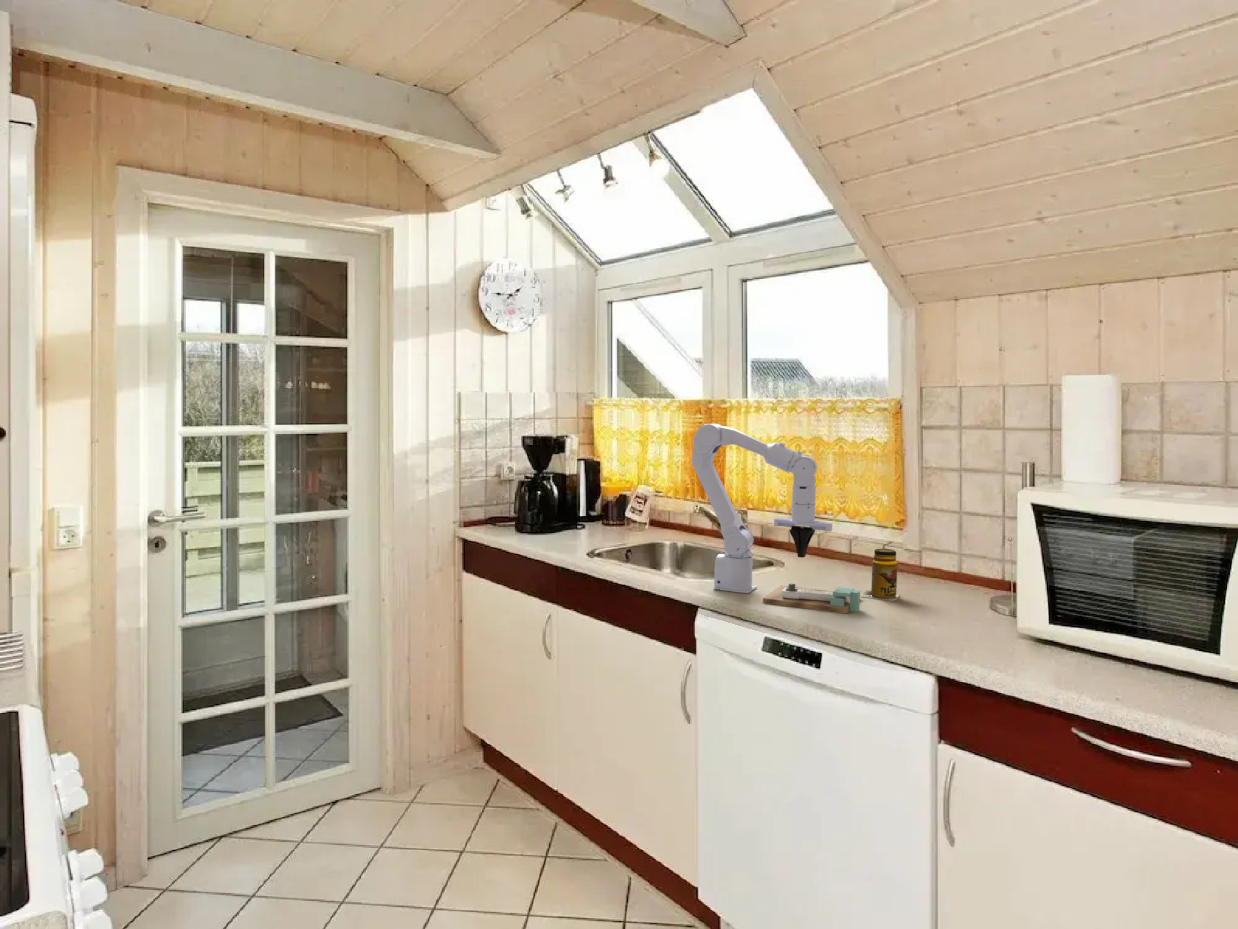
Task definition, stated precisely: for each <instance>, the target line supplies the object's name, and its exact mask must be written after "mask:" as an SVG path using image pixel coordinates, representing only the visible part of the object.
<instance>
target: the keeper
mask: <svg viewBox="0 0 1238 929" xmlns="http://www.w3.org/2000/svg"><path fill="white" fill-rule="evenodd" d="M832 591H833V595H836V596H845V597H850V610H849V612H854V613H855V612H857V613H858V612H859V610H860V605H861V604H860V602H861V601H860V600H861V597H860V596H861V590H855V588H852V587H843V586H837V588H835V589H834V590H832ZM844 601H845V598H837V597H831V604H830V605H832V606H840V607H844Z"/></svg>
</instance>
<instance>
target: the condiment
mask: <svg viewBox="0 0 1238 929" xmlns="http://www.w3.org/2000/svg"><path fill="white" fill-rule="evenodd" d="M871 562H872V564H871V590H868V589H867V590H865V591H864V592H863V593H862V594H861V595H862V596H861V595H860V598H861V597H862V598H869V599H876V600H883V601H891V602H892V601H893V602H895V601H896V600H897V599H899V597H900V594H897V591H898V590H897V588H898V587H897V584H898V561H897V552H896V550H895V549H890V548H876V549H874V555H873V560H872V561H871ZM863 595H865V596H863ZM867 595H872V597H869V596H867ZM873 597H874V598H873Z"/></svg>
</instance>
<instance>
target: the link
mask: <svg viewBox="0 0 1238 929" xmlns="http://www.w3.org/2000/svg"><path fill="white" fill-rule="evenodd" d="M826 591H827V590H826ZM826 591H814V590H803V589H796V588H795V591H788V588H784V589H783V591H782V597H783V598H794V599H810V600H821V601H831V597H837V598H845V601H844V603H847V597H845V596H836V595H833V592H826Z"/></svg>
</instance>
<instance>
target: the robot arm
mask: <svg viewBox="0 0 1238 929" xmlns="http://www.w3.org/2000/svg"><path fill="white" fill-rule="evenodd" d="M695 432H696V433H695V434H694V437H693V438H692V440H693V446H692V447H693V448H692V458H691V463H692V466H693V468H694V470H695V472H696V475H697V477H698V479H699V482H700V483H701V486H702V488H703V491H704V492H705V494H706V496H707V499H708V500H709V503H710V505H711V508H712V509H713V511H714V514H715V516H716V518H717V521H718V522H719V524H720V531H721V535H722V537H723V547H724V550H725V552H724V553H719V554H717V555H716V558H715V561H714V578H713V579H714V581H713V582H714V583H713V584H714V586H713V587H712V589H713V590H716V589H720V590H719V591H726V592H733V593H734V592H736V593H743V594H749V593H751V592H752V591H754V590H755V589H757V588H758V586H757V585H755V584H754V585H753V559H754V558H753V557H754V556H753V555H754V554H753V553H752V551H751V550H750V549H751V548H752V547H753V545H754V541H755V538H754V535H753V533H752V532H751V531H750V530H749V529H748V528H747V527H746V525H745V524H744V522H743V520H742V519H741V518H740V517H739V515H738V513H737V512H736V509H735V507H734V505H733V502H732V501H731V498H730V497H729V494H728V492H727V490H726V487H725V486H724V483H723V482H722V480H721V478H720V475H719V473H718V471H717V469H716V467H715V465H714V460H715V457H716V455H717V453H718V452H719V450H720V448H722V446H730V445H735V446H738V447H739V448H742V449H744V450H747V451H750V452H753V453H754V454H757V455H760V456H762V457H763V459H764V462H765V463H766V464H768V465H769V466H772V467H775V468H777V469H779V470H781V471H783V472H786V473H792V475H793V484H792V491H791V492H792V493H791V495H792V496H791V516H790V518H783V517H776V518H774V519H773V520H774V521H773V527H785V528H790V529H789V534H790V535H791V537H792V538H791V539H792V540H793V543H794V544H795V548H796V549H795V550H796V554H797V557H798V558H801V559H803V558H805V557H806V554H807V550H808V547H809V545H810V542H811V540H812V537H813V536H814V534H815V532H816V531H822V532H823V531H825V532H829V533H830V532H832V531H833V522H827V521H819V520H815V517H816V516H815V515H816V514H815V513H816V496H817V495H816V494H817V493H816V492H817V490H816V489H817V486H816V481H817V480H816V475H815V474H816V473H817V470H818V464H817V461H816V460H815V459H814V458H813V457H811V456H810V455H808V454H803V451H800V450H798V451H796V450H795V449H791V448H789V447H786V443H784V442H781V441H780V442H779V443H778V442H773V443H770V444H767V443H765V442H764V441H761V440H758V439H756V438H754V437H752V436H751V435H748V434H746V433H744V432H743V431H740V430H738V429H735V428H731V427H729V426H722V424H719V423H705V424H702V425H700V426H699V427H698V428H697V431H695ZM802 454H803V455H802Z"/></svg>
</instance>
